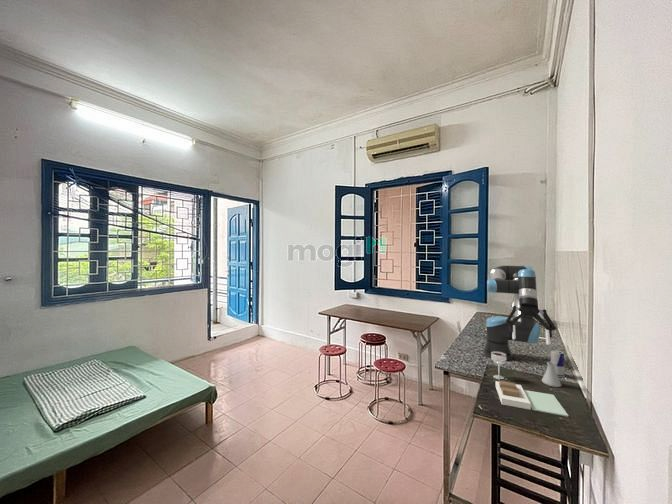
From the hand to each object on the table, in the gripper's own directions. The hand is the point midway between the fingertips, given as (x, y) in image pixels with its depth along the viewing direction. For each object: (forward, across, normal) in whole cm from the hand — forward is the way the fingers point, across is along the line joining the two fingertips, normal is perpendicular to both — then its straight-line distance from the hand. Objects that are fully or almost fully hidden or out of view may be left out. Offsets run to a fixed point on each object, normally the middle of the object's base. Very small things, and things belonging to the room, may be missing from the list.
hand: (530, 341), depth 127 cm
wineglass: (+18, -11, +12) cm, 24 cm away
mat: (+25, +2, -6) cm, 26 cm away
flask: (+16, +11, +13) cm, 23 cm away
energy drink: (+10, +17, +24) cm, 31 cm away
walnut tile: (+24, -11, -6) cm, 27 cm away
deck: (+26, -10, -5) cm, 28 cm away
